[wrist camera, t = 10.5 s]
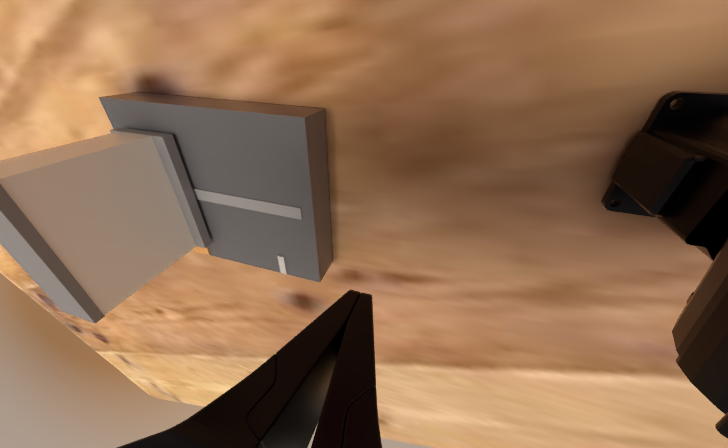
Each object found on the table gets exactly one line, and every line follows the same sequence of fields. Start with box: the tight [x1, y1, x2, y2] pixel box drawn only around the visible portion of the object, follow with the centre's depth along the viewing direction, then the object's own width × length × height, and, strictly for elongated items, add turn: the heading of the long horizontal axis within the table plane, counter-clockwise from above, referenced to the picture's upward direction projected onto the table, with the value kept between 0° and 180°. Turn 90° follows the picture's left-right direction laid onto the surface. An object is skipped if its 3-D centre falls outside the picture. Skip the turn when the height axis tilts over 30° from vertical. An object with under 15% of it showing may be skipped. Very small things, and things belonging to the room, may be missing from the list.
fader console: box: [99, 92, 333, 282], centre depth 23 cm, size 17×14×3 cm
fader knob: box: [0, 128, 212, 323], centre depth 19 cm, size 5×10×9 cm, turn 179°
